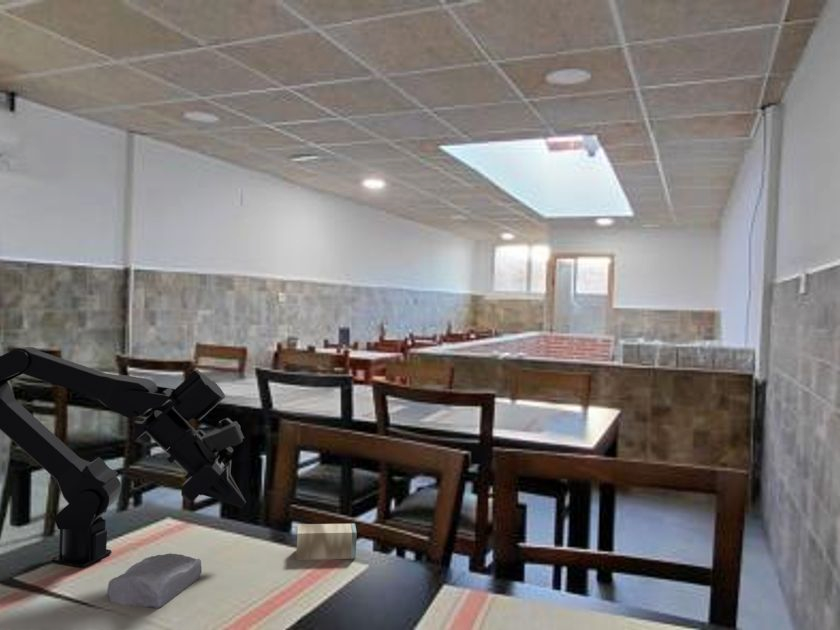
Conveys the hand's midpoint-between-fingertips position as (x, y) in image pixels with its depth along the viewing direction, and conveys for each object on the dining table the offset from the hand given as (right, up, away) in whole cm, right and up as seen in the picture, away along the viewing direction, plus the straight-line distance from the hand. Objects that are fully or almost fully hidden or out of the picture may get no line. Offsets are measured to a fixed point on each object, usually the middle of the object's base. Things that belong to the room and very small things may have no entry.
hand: (243, 504), depth 110 cm
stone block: (-10, -9, -13) cm, 19 cm away
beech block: (+9, -7, +2) cm, 11 cm away
